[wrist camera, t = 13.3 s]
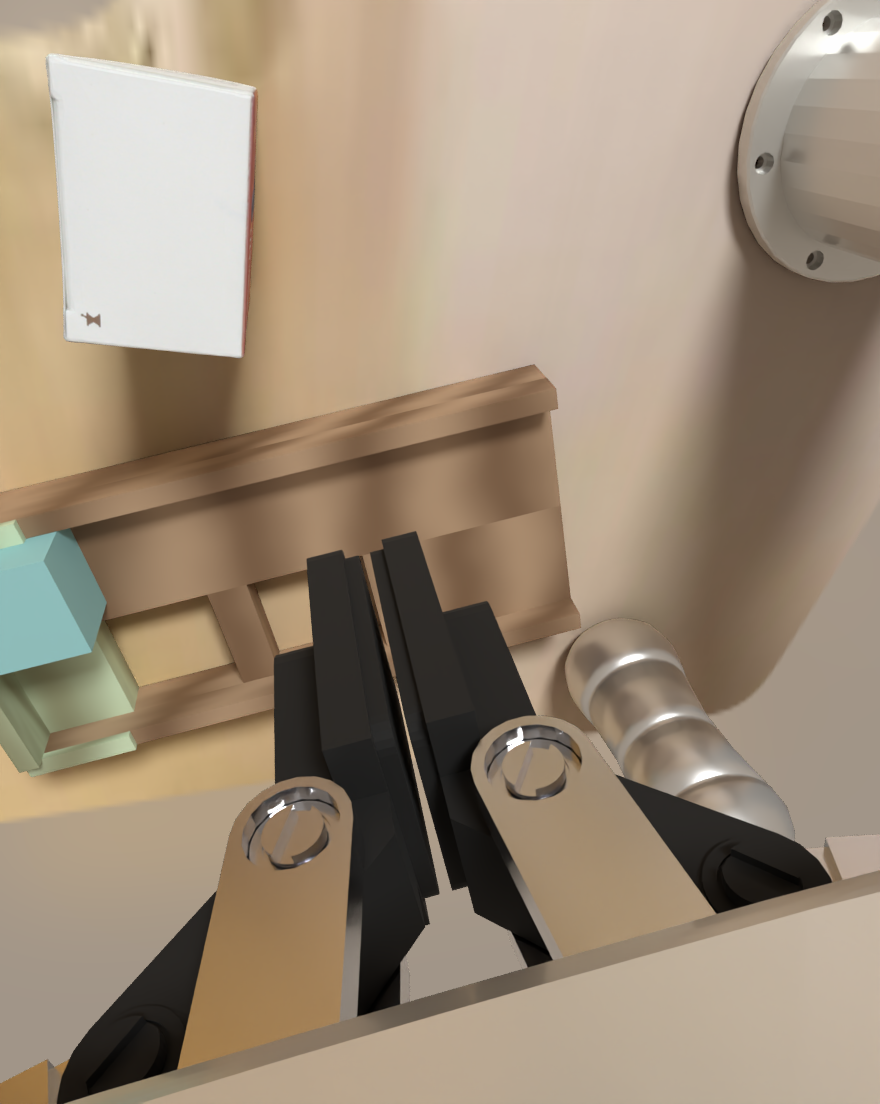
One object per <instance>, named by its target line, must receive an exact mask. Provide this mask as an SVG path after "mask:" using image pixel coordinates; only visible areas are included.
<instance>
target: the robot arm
mask: <svg viewBox="0 0 880 1104" xmlns="http://www.w3.org/2000/svg"><path fill="white" fill-rule="evenodd" d="M823 21H824V27H822V24H823ZM757 158H758V160H759V161H758V164H757V165H756V167H755V163H756V160H757ZM737 176H738V185H739V195H740V201H741V204H742V208H743V211H744V214H745V218H746V221H747V224H748V226H749V227H750V229H751V231H752V233H753V235H754V236H755V238H756V240H757V242H758V244H759V245H760V246H761V247H762V248H763V249H764V250H765V251H766V252H767V253H768V254H769V256H770V257H771V258H772V259H773V260H775V261H776V262H778V263H779V264H781V265H782V266H784V267H786V268H787V269H789V270H790V271H792V272H795V273H797V274H800V275H802V276H805V277H807V278H810V279H816V280H821V281H826V282H854V281H858V280H863V279H867V278H871V277H875V276H878V275H880V0H819V1H818V2H817V3H816V4H815V5H814V6H813V7H812V8H811V9H810V10H808V11H807V12H806V13H805V14H804V15H803V16H802V17H801V18H800V19H799V20H798V21H797V22H796V23H795V24H794V26H793V27H792V28H791V30H790V31H789V32H788V34H787V35H786V36H785V37H784V39H783V40H782V41H781V43H780V44H779V45H778V47H777V48H776V49H775V51H774V52H773V54H772V56H771V58H770V60H769V61H768V63H767V65H766V67H765V69H764V71H763V72H762V74H761V76H760V78H759V80H758V81H757V84H756V87H755V89H754V92H753V95H752V97H751V100H750V103H749V105H748V108H747V111H746V114H745V118H744V123H743V127H742V132H741V136H740V141H739V151H738V167H737ZM381 541H382V545H383V549H381V550H377V551H373V552H370V557H371V561H372V566H373V571H374V575H375V580H376V585H377V589H378V594H379V599H380V603H381V608H382V613H383V617H384V622H385V627H386V631H387V636H388V641H389V645H390V650H391V655H392V660H393V664H394V669H395V674H396V678H397V683H398V688H399V692H400V697H401V702H402V706H403V711H404V715H405V720H406V724H407V728H408V732H409V736H410V740H411V744H412V747H413V751H414V755H415V758H416V762H417V765H418V769H419V773H420V776H421V780H422V783H423V787H424V791H425V794H426V798H427V801H428V805H429V808H430V812H431V815H432V819H433V823H434V827H435V830H436V834H437V837H438V841H439V844H440V848H441V852H442V855H443V859H444V863H445V866H446V870H447V873H448V877H449V880H450V884H451V888H452V890H456V889H460V888H463V887H466V886H468V888H469V893H470V896H471V900H472V904H473V908H474V912H475V913H476V914H478V915H480V916H482V917H484V918H486V919H488V920H489V921H491V922H494V923H495V924H497V925H499V926H501V927H503V928H505V929H507V931H508V935H509V939H510V942H511V946H512V948H513V950H514V952H515V954H516V957H517V959H518V961H519V963H520V965H521V967H522V970H518V971H515V972H511V973H508V974H504V975H501V976H497V977H494V978H490V979H487V980H483V981H480V982H477V983H473V984H469V985H466V986H463V987H459V988H456V989H452V990H449V991H445V992H442V993H438V994H435V995H431V996H428V997H424V998H421V999H417V1000H414V1001H411V1002H410V974H409V968H408V962H407V957H406V954H407V953H408V951H409V950H410V948H411V947H412V945H413V944H414V942H415V941H416V939H417V938H418V936H419V935H420V933H421V932H422V931H423V929H424V928H425V925H428V924H430V923H429V918H428V912H427V907H426V902H425V898H428V897H431V896H435V895H438V894H439V888H438V883H437V878H436V874H435V868H434V864H433V859H432V854H431V849H430V845H429V840H428V835H427V831H426V826H425V821H424V816H423V812H422V807H421V802H420V798H419V793H418V788H417V783H416V779H415V773H414V769H413V764H412V759H411V754H410V750H409V745H408V740H407V735H406V731H405V726H404V721H403V716H402V712H401V707H400V703H399V699H398V695H397V691H396V687H395V684H394V680H393V676H392V673H391V669H390V666H389V662H388V658H387V655H386V651H385V648H384V644H383V640H382V637H381V633H380V630H379V626H378V622H377V619H376V615H375V612H374V608H373V604H372V601H371V597H370V594H369V590H368V587H367V583H366V579H365V576H364V572H363V569H362V565H361V561H360V558H359V555H357V556H353V557H349V558H345V555H344V552H343V550H338V551H334V552H330V553H326V554H322V555H318V556H314V557H310V558H307V574H308V586H309V599H310V611H311V623H312V635H313V646H310V647H306V648H302V649H298V650H294V651H290V652H287V653H283V654H279V655H276V656H275V658H274V733H275V785H273V786H271V787H269V788H267V789H265V790H264V791H262V792H261V793H259V794H258V795H257V796H256V797H255V798H253V799H252V800H251V801H250V802H249V803H247V804H246V806H245V807H244V809H243V810H242V811H241V812H240V814H239V815H238V816H237V818H236V819H235V822H234V824H233V827H232V830H231V832H230V835H229V838H228V843H227V847H226V852H225V856H224V861H223V865H222V870H221V874H220V879H219V883H218V888H217V891H216V892H215V893H214V894H213V895H212V896H211V897H210V898H209V900H208V901H207V902H206V903H205V904H204V905H203V906H202V907H201V908H200V909H199V910H198V912H197V913H196V914H195V915H194V916H193V917H192V918H191V919H190V920H189V921H188V923H187V924H186V925H185V926H184V927H183V928H182V929H181V930H180V931H179V932H178V933H177V934H176V936H175V937H174V938H173V939H172V940H171V941H170V942H169V943H168V944H167V945H166V946H165V948H164V949H163V950H162V951H161V952H160V953H159V954H158V955H157V956H156V957H155V959H154V960H153V961H152V962H151V963H150V964H149V965H148V966H147V967H146V968H145V969H144V971H143V972H142V973H141V974H140V975H139V976H138V977H137V978H136V979H135V980H134V982H133V983H132V984H131V985H130V986H129V987H128V988H127V989H126V990H125V992H123V994H122V995H121V996H120V997H119V998H118V999H117V1000H116V1001H115V1002H114V1003H113V1005H112V1006H111V1007H110V1008H109V1009H108V1010H107V1011H106V1012H105V1013H104V1014H103V1015H102V1016H101V1018H100V1019H99V1020H98V1021H97V1022H96V1023H95V1024H94V1025H93V1026H92V1028H91V1029H90V1030H89V1031H88V1033H87V1034H86V1035H85V1036H84V1038H83V1039H82V1041H81V1042H80V1043H79V1044H78V1046H77V1047H76V1048H75V1050H74V1051H73V1053H72V1055H71V1057H70V1059H69V1060H67V1061H65V1062H63V1063H61V1064H59V1065H57V1066H55V1067H54V1066H53V1065H52V1064H51V1063H50V1061H49V1060H48V1059H47V1060H45V1061H43V1062H41V1063H39V1064H37V1065H35V1066H33V1067H31V1068H29V1069H27V1070H25V1071H23V1072H21V1073H19V1074H17V1075H16V1076H13V1077H12V1078H10V1079H8V1080H6V1081H4V1082H2V1083H0V1104H880V834H872V835H857V836H839V837H826V838H825V845H824V847H817V848H804V847H803V846H801V845H800V844H798V843H797V842H795V841H793V840H791V839H789V838H787V837H785V836H783V835H781V834H778V833H776V832H773V831H770V830H767V829H765V828H762V827H759V826H756V825H753V824H751V823H748V822H745V821H742V820H740V819H737V818H734V817H731V816H729V815H726V814H723V813H720V812H718V811H715V810H712V809H709V808H707V807H704V806H701V805H698V804H695V803H693V802H690V801H687V800H684V799H682V798H679V797H676V796H673V795H671V794H668V793H665V792H662V791H660V790H657V789H654V788H651V787H649V786H646V785H643V784H640V783H638V782H635V781H632V780H629V779H626V778H624V777H621V776H618V775H615V774H614V772H613V771H612V770H611V768H610V767H609V765H608V764H607V763H606V761H605V760H604V759H603V757H602V756H601V754H600V753H599V752H598V750H597V749H596V748H595V746H594V745H593V743H592V742H591V741H590V739H589V738H588V737H587V736H586V735H585V734H584V733H583V732H582V731H581V730H580V729H579V728H578V727H576V726H574V725H572V724H570V723H568V722H566V721H564V720H562V719H559V718H554V717H549V716H544V715H541V716H536V714H535V711H534V709H533V707H532V704H531V702H530V699H529V697H528V695H527V692H526V690H525V687H524V685H523V683H522V680H521V678H520V675H519V673H518V671H517V668H516V666H515V663H514V661H513V659H512V656H511V654H510V652H509V649H508V647H507V644H506V642H505V640H504V637H503V635H502V632H501V630H500V628H499V625H498V623H497V620H496V618H495V616H494V613H493V611H492V608H491V606H490V604H489V602H487V601H484V602H480V603H476V604H472V605H468V606H465V607H461V608H457V609H453V610H449V611H445V612H442V609H441V606H440V603H439V600H438V596H437V593H436V590H435V587H434V584H433V581H432V578H431V575H430V572H429V569H428V566H427V563H426V559H425V556H424V553H423V550H422V547H421V544H420V541H419V538H418V535H417V532H416V531H414V532H410V533H406V534H402V535H398V536H394V537H390V538H386V539H382V540H381Z"/></svg>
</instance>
